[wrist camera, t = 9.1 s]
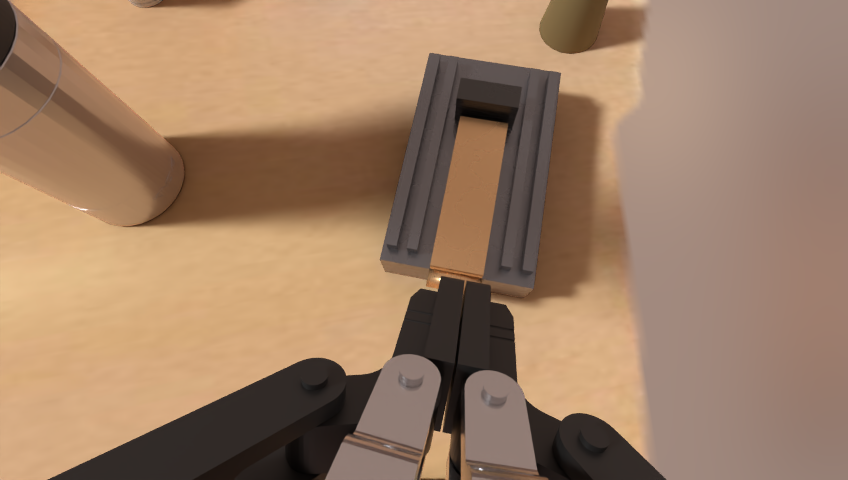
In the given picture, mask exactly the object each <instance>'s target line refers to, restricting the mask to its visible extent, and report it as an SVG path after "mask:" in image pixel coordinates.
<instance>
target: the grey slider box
mask: <svg viewBox="0 0 848 480" xmlns="http://www.w3.org/2000/svg"><path fill="white" fill-rule="evenodd" d="M560 76H561V73H559V72H553V71H544V70H540V69H533V68H525V67H518V66H511V65H505V64H498V63H492V62H485V61H478V60H472V59H465V58H459V57H454V56H446V55H441V54H434V53H429V58H428V62H427V66H426V70H425V74H424V78H423V83H422V87H421V91H420V95H419V99H418V103H417V107H416V112H415V116H414V120H413V124H412V128H411V132H410V137H409V141H408V145H407V149H406V153H405V157H404V161H403V166H402V170H401V174H400V178H399V182H398V186H397V191H396V195H395V199H394V203H393V207H392V211H391V215H390V220H389V224H388V228H387V232H386V236H385V240H384V245H383V249H382V253H381V257H380V261H381V263H382V265H383V268H384V270H385V272H390V273H395V274H400V275H406V276H411V277H416V278H421V279H426V280H427V278H428V273H429V269H430V263H431V258H432V253H433V248H434V243H435V238H436V233H437V228H438V224H439V219H440V214H441V209H442V204H443V199H444V194H445V189H446V184H447V179H448V174H449V169H450V164H451V159H452V154H453V150H454V145H455V140H456V135H457V130H458V125H459V120H460V116H465V117H471V118H477V119H483V120H489V121H495V122H502V123H508V128H507V134H506V140H505V146H504V153H503V159H502V165H501V171H500V177H499V183H498V189H497V195H496V201H495V207H494V213H493V219H492V226H491V232H490V238H489V244H488V250H487V256H486V262H485V268H484V274H483V277H482V278H483V280H482V283H483V284H488V285H491V292H493V293H498V294H504V295H509V296H514V297H519V298H524V297H525V296H526V295H527V294H528V293H530V292H531V291H532V290H533V289H534V282H535V274H536V266H537V259H538V251H539V243H540V235H541V227H542V219H543V211H544V203H545V195H546V187H547V179H548V171H549V163H550V155H551V147H552V139H553V132H554V124H555V116H556V108H557V100H558V92H559V84H560Z"/></svg>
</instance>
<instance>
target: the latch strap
mask: <svg viewBox="0 0 848 480" xmlns="http://www.w3.org/2000/svg"><path fill="white" fill-rule="evenodd" d="M507 128H508V123H502V122H495V121H489V120H483V119H477V118H471V117H465V116H460V120H459V125H458V130H457V135H456V140H455V145H454V150H453V154H452V159H451V164H450V169H449V174H448V179H447V184H446V189H445V194H444V199H443V204H442V209H441V214H440V219H439V224H438V228H437V233H436V238H435V243H434V248H433V253H432V258H431V263H430V269H429V273H428V278H427V283H426V286H427V287H432V288H437V289H438V288H439V283H440V279H441V276H445V277H451V278H456V279H461V280H465V282H464V289H465V285H466V281H472V282H477V283H482V280H483V278H482V277H483V274H484V268H485V262H486V256H487V250H488V244H489V238H490V232H491V226H492V219H493V213H494V207H495V201H496V195H497V189H498V183H499V177H500V171H501V165H502V159H503V153H504V146H505V140H506V134H507ZM463 294H464V291H463Z"/></svg>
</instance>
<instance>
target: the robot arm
mask: <svg viewBox="0 0 848 480" xmlns="http://www.w3.org/2000/svg"><path fill="white" fill-rule="evenodd" d="M0 172H1V173H3V174H5V175H7V176H10V177H12V178H14V179H16V180H18V181H20V182H22V183H24V184H26V185H28V186H31V187H33V188H35V189H37V190H39V191H41V192H43V193H45V194H47V195H50V196H52V197H54V198H56V199H58V200H60V201H62V202H64V203H66V204H68V205H70V206H72V207H74V208H76V209H79V210H81V211H83V212H85V213H87V214H89V215H92V216H94V217H96V218H98V219H100V220H102V221H104V222H107V223H109V224H112V225H117V226H132V225H137V224H142V223H144V222H147V221H149V220H152V219H153V218H155V217H156V216H158V215H160V214H161V213H162V212H164V211H165V210H166V209H167V208H168V207H169V206H170V205H171V204H172V202H173V201H174V200H175V199H176V197H177V195H178V193H179V192H180V190H181V187H182V184H183V180H184V165H183V160H182V158H181V156H180V154H179V153H178V151H177V150H176V149H175V148H174V147H173V146H172V145H171V144H170V143H169V142H168V141H166V140H165V139H164V138H163V137H162V136H161V135H160V134H159V133H157V132H156V131H155V130H154V129H153V128H152V127H151V126H150V125H149V124H148V123H147V122H145V121H144V120H143V119H142V118H141V117H140V116H139V115H138V114H136V113H135V112H134V111H133V110H132V109H131V108H130V107H129V106H127V105H126V104H125V103H124V102H123V101H122V100H121V99H120V98H118V97H117V96H116V95H115V94H114V93H113V92H112V91H111V90H109V89H108V88H107V87H106V86H105V85H104V84H103V83H102V82H100V81H99V80H98V79H97V78H96V77H95V76H94V75H92V74H91V73H90V72H89V71H88V70H87V69H86V68H85V67H83V66H82V65H81V64H80V63H79V62H78V61H77V60H76V59H74V58H73V57H72V56H71V55H70V54H69V53H68V52H67V51H65V50H64V49H63V48H62V47H61V46H60V45H59V44H58V43H56V42H55V41H54V40H53V39H52V38H51V37H50V36H49V35H47V34H46V33H45V32H44V31H43V30H42V29H40V28H39V27H38V26H37V25H36V24H35V23H34V22H33V21H31V20H30V19H29V18H28V17H27V16H26V15H25V14H24V13H22V12H21V11H20V10H19V9H18V8H17V7H16V6H15V5H13V4H12V3H11V2H10V1H9V0H0ZM464 282H465V280H461V279H456V278H451V277H445V276H441V279H440V283H439V288H438V292H435V291H430V290H425V289H420V290H419V291H418V292H416V293H415V294H414V295H413V296H412V297H411V298H410V302H409V305H408V308H407V311H406V315H405V318H404V321H403V324H402V328H401V331H400V334H399V337H398V341H397V344H396V347H395V350H394V354H393V356H392V358H391V359H390V360H389V361H387V362H386V364H385V365H384V366H383V368H382V369H380V370H378V371H376V372H373V373H369V374H363V375H348V376H346V374H345V372H344V370H343V368H342V367H341V366H340V365H339V364H337V363H336V362H334V361H331V360H329V359H325V358H310V359H306V360H302V361H300V362H297V363H295V364H293V365H291V366H289V367H287V368H285V369H283V370H280V371H278V372H276V373H274V374H272V375H270V376H268V377H266V378H263V379H261V380H259V381H257V382H255V383H253V384H251V385H248V386H246V387H244V388H242V389H240V390H238V391H236V392H234V393H231V394H229V395H227V396H225V397H223V398H221V399H219V400H217V401H214V402H212V403H210V404H208V405H206V406H204V407H202V408H199V409H197V410H195V411H193V412H191V413H189V414H187V415H185V416H182V417H180V418H178V419H176V420H174V421H172V422H170V423H168V424H165V425H163V426H161V427H159V428H157V429H155V430H153V431H150V432H148V433H146V434H144V435H142V436H140V437H138V438H136V439H133V440H131V441H129V442H127V443H125V444H123V445H121V446H119V447H116V448H114V449H112V450H110V451H108V452H106V453H104V454H101V455H99V456H97V457H95V458H93V459H91V460H89V461H87V462H84V463H82V464H80V465H78V466H76V467H74V468H72V469H70V470H67V471H65V472H63V473H61V474H59V475H57V476H55V477H52V478H50V479H48V480H420V478H421V474H422V470H423V466H424V462H425V457H426V454H427V453H428V451H429V449H430V446H431V442H432V437H433V432H434V430H435V431H439V432H440V429H441V425H442V420H443V415H444V411H445V417H444V425H443V432H445V433H449V434H451V443H450V449H449V454H448V458H447V463H446V480H666V479H665V478H664V477H663V476H662V475H661V474H660V473H659V472H658V471H657V470H656V469H655V468H654V467H653V466H652V465H651V464H650V463H649V462H648V461H647V460H645V459H644V458H643V457H642V456H641V455H640V454H639V453H638V452H637V451H636V450H635V449H634V448H633V447H632V446H631V445H630V444H629V443H628V442H627V441H626V440H625V439H624V438H623V437H622V436H621V435H620V434H619V433H618V432H617V431H616V430H615V429H613V428H612V427H611V426H610V425H609V424H607V423H606V422H604V421H603V420H601V419H599V418H597V417H595V416H592V415H588V414H583V413H576V414H571V415H568V416H567V417H565V418H564V419H563V420H562V421H560V420H558V419H556V418H554V417H552V416H549V415H547V414H545V413H543V412H542V411H540V410H538V409H537V408H535V407H534V406H532V405H531V404H530V403H529V402H528V401H527V400H526V399H525V396H524V393H523V391H522V389H521V387H520V386H519V385H518V383H517V371H516V354H515V343H514V341H515V337H514V320H513V316H512V314H511V313H510V311H509V310H508V308H507V306H506V305H503V304H498V303H493V302H490V301H491V285H488V284H483V283H477V282H472V281H466V285H465V289H464ZM463 291H464V294H463ZM446 401H447V402H446ZM445 406H446V410H445Z"/></svg>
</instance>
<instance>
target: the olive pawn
mask: <svg viewBox="0 0 848 480" xmlns="http://www.w3.org/2000/svg"><path fill="white" fill-rule="evenodd" d="M607 3H608V0H551V1H550V4H549V6H548V8H547V10H546V12H545V14H544V16H543V18H542V20H541V22H540V28H539V31H540V34H541V37H542V39H543V40H544V42H545V43H546V44H547V45H548V46H550V47H551V48H552V49H554V50H557V51H559V52H562V53H569V54H572V53H580V52H582V51H585V50H587V49H588V48H590V47H591V46H592V45H593V44H594V42H595V40H596V38H597V36H598V32H599V29H600V26H601V22H602V19H603V16H604V13H605V9H606V6H607Z"/></svg>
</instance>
